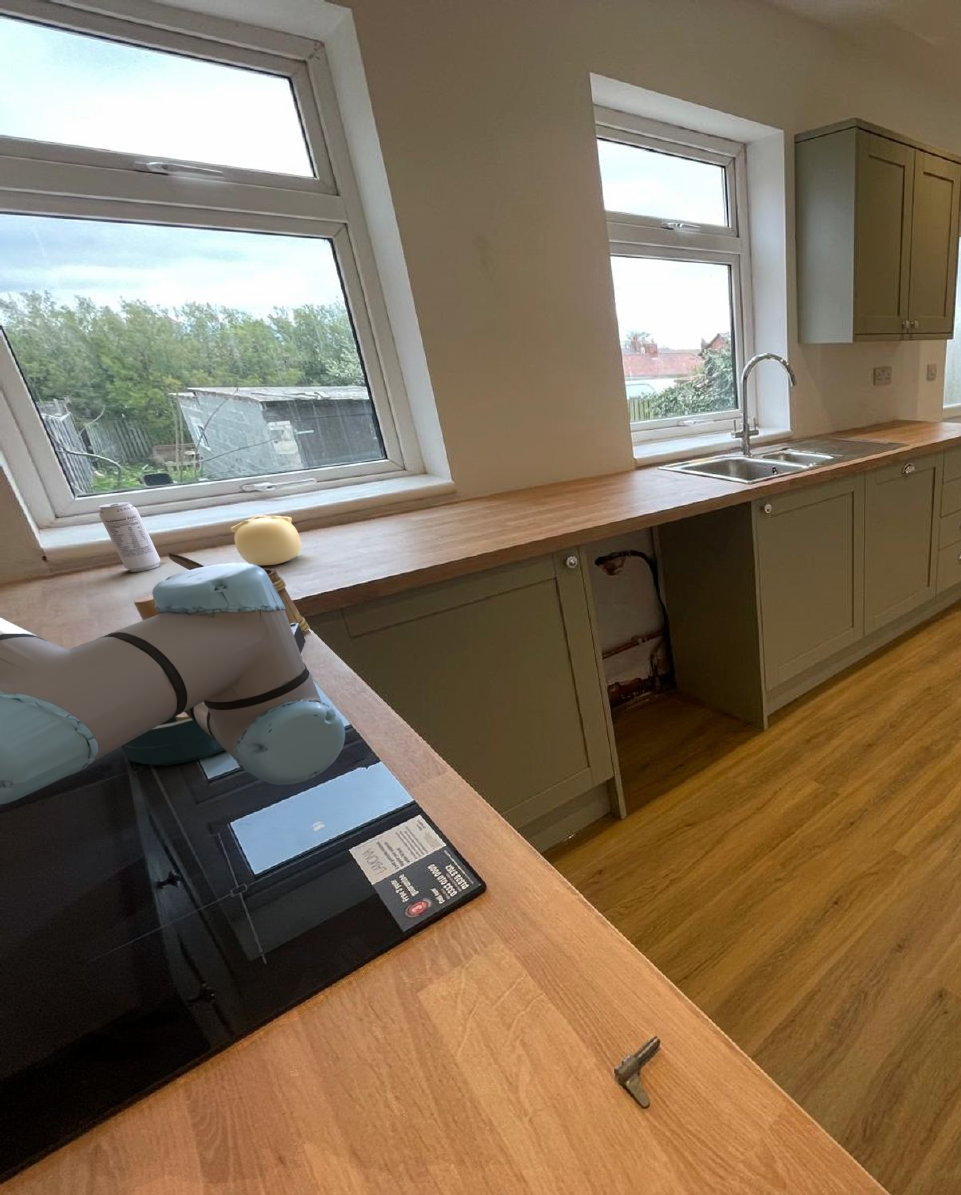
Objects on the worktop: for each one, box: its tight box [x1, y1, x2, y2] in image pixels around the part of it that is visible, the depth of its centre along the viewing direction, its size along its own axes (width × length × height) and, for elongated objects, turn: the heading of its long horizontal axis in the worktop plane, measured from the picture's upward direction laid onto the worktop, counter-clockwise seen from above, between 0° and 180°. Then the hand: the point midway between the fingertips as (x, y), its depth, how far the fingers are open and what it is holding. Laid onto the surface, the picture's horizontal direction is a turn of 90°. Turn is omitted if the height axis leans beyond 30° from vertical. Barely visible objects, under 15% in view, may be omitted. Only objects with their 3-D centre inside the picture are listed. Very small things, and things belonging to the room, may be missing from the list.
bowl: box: [120, 717, 226, 766], centre depth 82 cm, size 16×16×6 cm
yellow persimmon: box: [230, 514, 302, 566], centre depth 145 cm, size 11×12×11 cm
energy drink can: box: [98, 500, 161, 573], centre depth 144 cm, size 6×6×15 cm
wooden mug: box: [168, 552, 310, 635], centre depth 104 cm, size 9×14×18 cm, turn 155°
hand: (177, 650), depth 76 cm, fingers open, 13 cm apart
